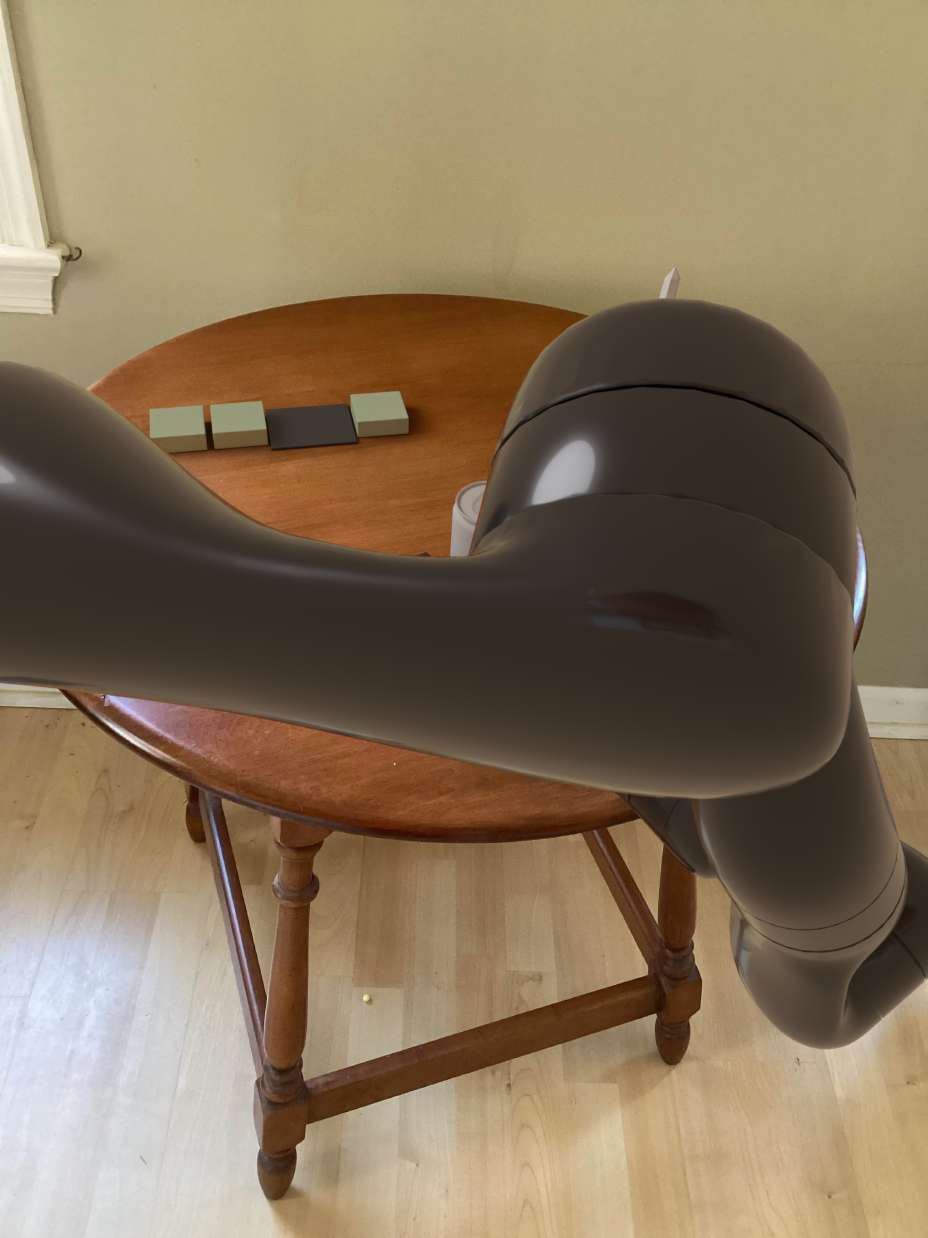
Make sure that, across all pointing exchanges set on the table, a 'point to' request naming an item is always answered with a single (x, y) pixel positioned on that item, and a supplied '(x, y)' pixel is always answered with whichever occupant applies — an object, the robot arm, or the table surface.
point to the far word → (279, 424)
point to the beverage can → (466, 517)
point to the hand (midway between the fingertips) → (468, 545)
